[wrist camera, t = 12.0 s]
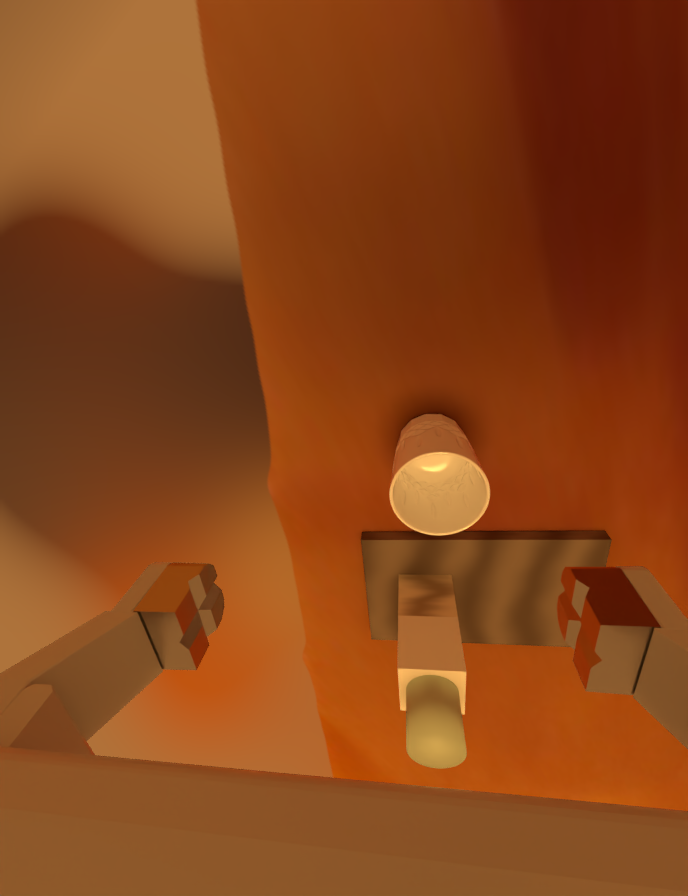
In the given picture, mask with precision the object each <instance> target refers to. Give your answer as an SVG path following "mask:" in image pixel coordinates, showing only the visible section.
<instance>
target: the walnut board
mask: <svg viewBox="0 0 688 896" xmlns="http://www.w3.org/2000/svg"><path fill="white" fill-rule="evenodd" d="M361 544H362V553H363V563H364V572H365V582H366V591H367V601H368V610H369V620H370V629H371V639H376V640H398V593H399V574H400V575H452V582H453V588H454V595H455V602H456V608H457V615H458V621H459V628H460V635H461V641H462V643H481V644H507V645H534V646H560V647H571V646H570V645H568V644H567V643H566V642H565V641H564V638H563V636H562V633H561V630H560V627H559V623H558V616H557V602H558V596H559V595H560V594H562V593H563V592H564V591H565V589H564V587H563V585H562V583H561V576H562V571H563V570H564V568H565V567H606V563H607V558H608V554H609V549H610V544H611V538H610V537H609V536H608V534H607V533H606V531H460V532H458V533H454V534H450V535H440V536H438V535H428V534H424V533H420V532H362V537H361Z"/></svg>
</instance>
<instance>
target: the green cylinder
mask: <svg viewBox="0 0 688 896" xmlns="http://www.w3.org/2000/svg"><path fill="white" fill-rule="evenodd" d="M406 749H407V753H408V755H409V756H410V757H411V758H412V759H413V760H414V761H415V762H417V763H419V764H421V765H424V766H427V767H431V768H450V767H454V766H457V765H459V764H460V763H462V762H463V761H464V760H465V758H466V755H467V752H466V744H465V736H464V728H463V720H462V713H461V705H460V697H459V690H458V688H457V686H456V685H455V684H454V683H453V682H452V681H450V680H449V679H447V678H444V677H441V676H437V675H423V676H419V677H416V678H414V679H412V680H411V681H410V682H409V683H408V685H407V687H406Z"/></svg>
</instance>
